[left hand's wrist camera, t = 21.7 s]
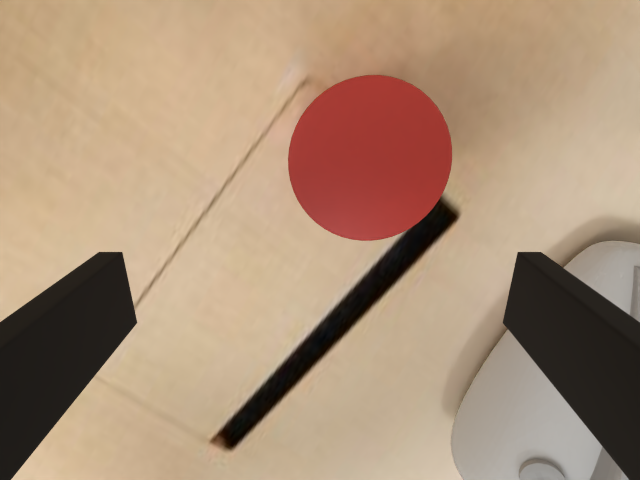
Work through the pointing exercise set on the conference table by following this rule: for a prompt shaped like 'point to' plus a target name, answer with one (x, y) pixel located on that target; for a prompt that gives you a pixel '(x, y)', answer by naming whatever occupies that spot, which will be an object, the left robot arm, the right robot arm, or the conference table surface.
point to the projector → (540, 396)
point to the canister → (370, 157)
